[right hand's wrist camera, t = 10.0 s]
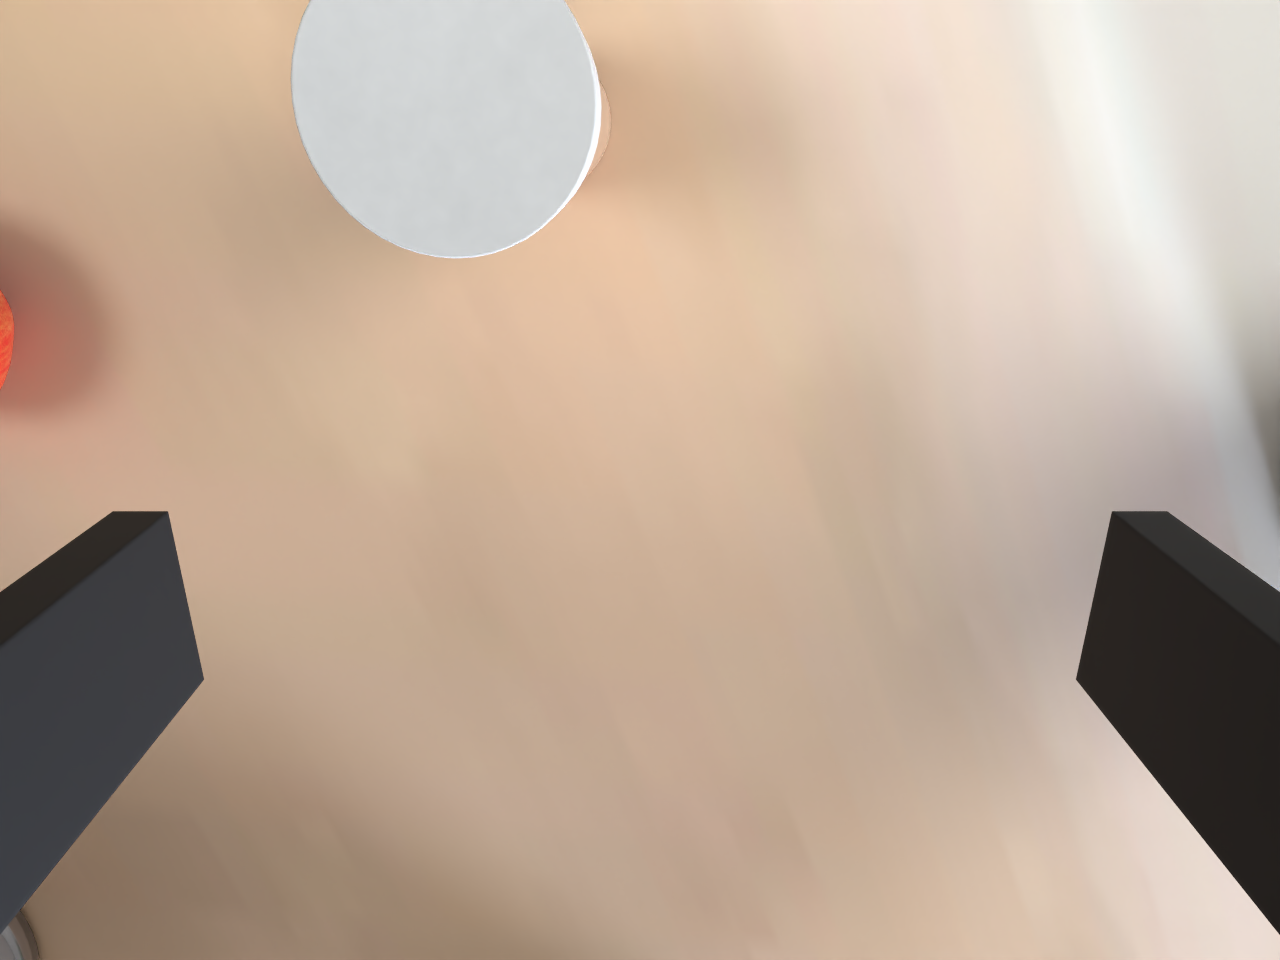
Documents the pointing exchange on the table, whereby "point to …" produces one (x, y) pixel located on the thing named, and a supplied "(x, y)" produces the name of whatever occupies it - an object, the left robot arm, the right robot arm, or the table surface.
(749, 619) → the table surface
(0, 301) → the apple
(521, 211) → the lid
